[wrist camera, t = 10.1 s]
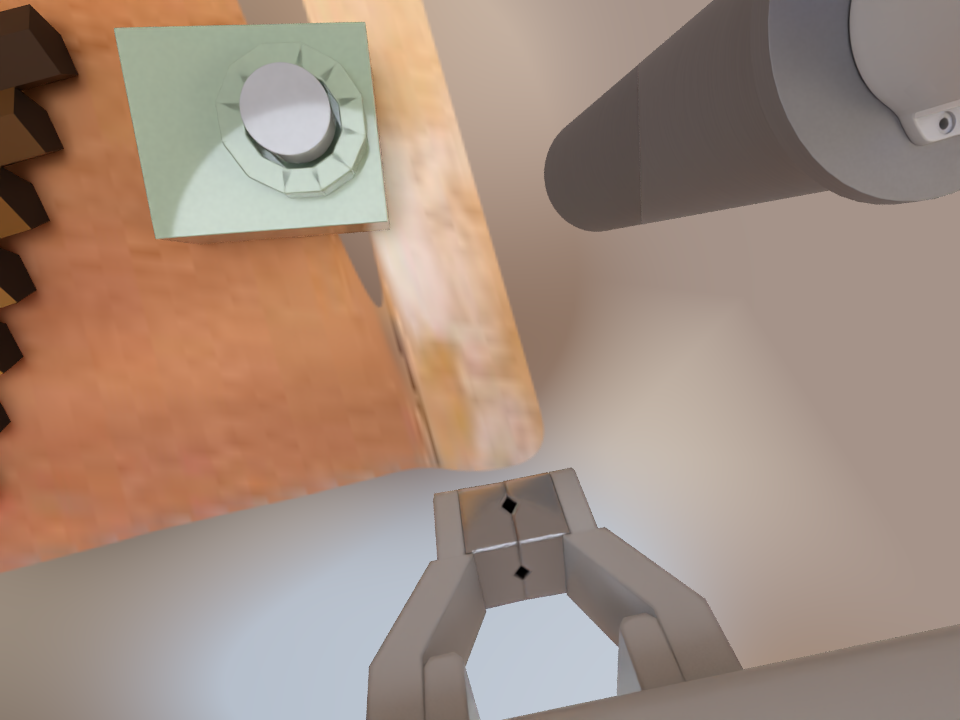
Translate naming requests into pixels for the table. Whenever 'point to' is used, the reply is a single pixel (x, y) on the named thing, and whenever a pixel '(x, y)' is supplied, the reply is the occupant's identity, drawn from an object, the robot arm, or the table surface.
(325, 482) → the table surface
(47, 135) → the pan flute
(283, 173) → the dispenser
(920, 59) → the robot arm
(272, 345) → the table surface
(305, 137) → the grey push button
